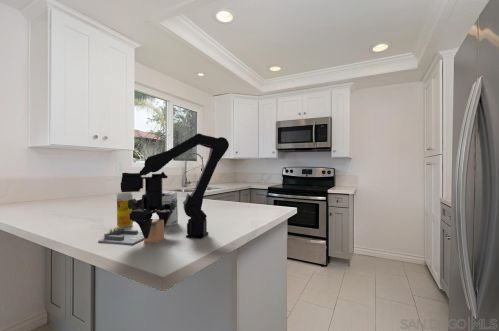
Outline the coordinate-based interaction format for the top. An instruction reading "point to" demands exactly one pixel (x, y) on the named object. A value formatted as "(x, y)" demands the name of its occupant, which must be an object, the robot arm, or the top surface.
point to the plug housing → (156, 231)
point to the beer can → (123, 209)
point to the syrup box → (173, 219)
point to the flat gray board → (122, 236)
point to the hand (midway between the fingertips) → (154, 234)
